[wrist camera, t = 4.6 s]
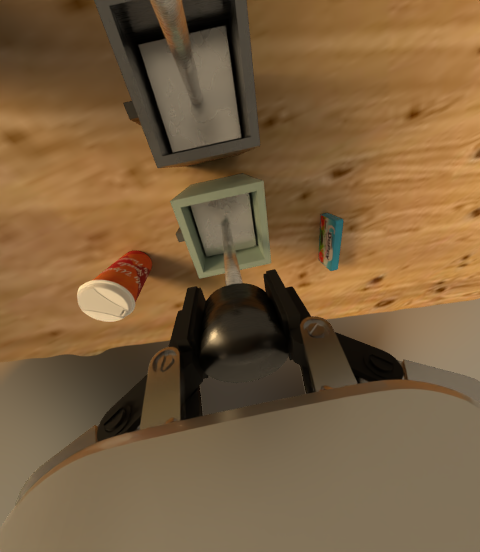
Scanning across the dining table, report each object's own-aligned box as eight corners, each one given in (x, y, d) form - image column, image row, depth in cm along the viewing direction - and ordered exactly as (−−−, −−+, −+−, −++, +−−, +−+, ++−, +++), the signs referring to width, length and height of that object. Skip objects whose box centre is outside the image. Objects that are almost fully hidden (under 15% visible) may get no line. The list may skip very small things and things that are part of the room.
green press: (181, 186, 33) (153, 204, 18) (242, 173, 33) (263, 180, 18) (198, 235, 39) (186, 281, 24) (250, 224, 39) (271, 263, 24)
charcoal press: (150, 91, 26) (62, -7, 11) (227, 74, 26) (242, -47, 11) (176, 168, 32) (139, 172, 17) (239, 154, 32) (260, 145, 17)
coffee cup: (163, 258, 41) (140, 300, 28) (148, 282, 44) (120, 330, 31) (126, 237, 37) (81, 275, 25) (112, 265, 40) (64, 310, 28)
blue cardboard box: (323, 258, 46) (337, 270, 41) (318, 259, 46) (331, 271, 41) (327, 212, 39) (343, 219, 34) (320, 213, 39) (336, 221, 34)
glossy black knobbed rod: (190, 202, 23) (112, 317, 6) (247, 190, 23) (340, 268, 6) (207, 254, 27) (190, 410, 10) (255, 243, 27) (322, 382, 10)
